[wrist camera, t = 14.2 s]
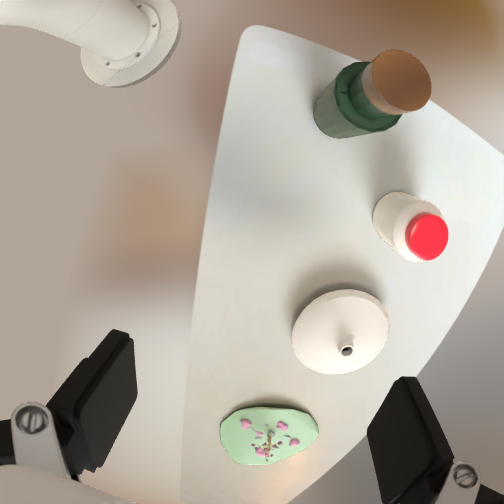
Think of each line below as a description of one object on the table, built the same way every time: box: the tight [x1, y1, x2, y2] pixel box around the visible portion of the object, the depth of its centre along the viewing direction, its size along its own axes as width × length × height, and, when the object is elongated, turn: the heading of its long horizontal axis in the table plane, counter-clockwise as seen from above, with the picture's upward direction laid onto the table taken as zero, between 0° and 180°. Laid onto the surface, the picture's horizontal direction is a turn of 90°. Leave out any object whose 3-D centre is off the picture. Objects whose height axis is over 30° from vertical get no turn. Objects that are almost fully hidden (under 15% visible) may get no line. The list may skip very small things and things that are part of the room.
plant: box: [220, 407, 319, 465], centre depth 53 cm, size 25×21×9 cm
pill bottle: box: [373, 192, 448, 262], centre depth 36 cm, size 8×8×11 cm
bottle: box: [314, 62, 402, 139], centre depth 28 cm, size 7×7×20 cm
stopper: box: [362, 50, 431, 115], centre depth 19 cm, size 5×5×7 cm
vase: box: [292, 289, 390, 374], centre depth 44 cm, size 16×16×7 cm
